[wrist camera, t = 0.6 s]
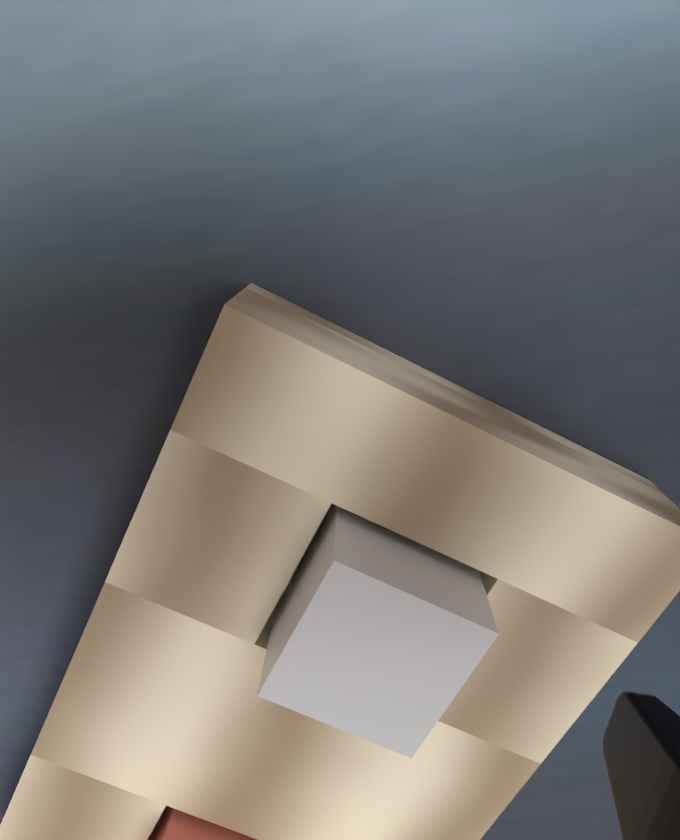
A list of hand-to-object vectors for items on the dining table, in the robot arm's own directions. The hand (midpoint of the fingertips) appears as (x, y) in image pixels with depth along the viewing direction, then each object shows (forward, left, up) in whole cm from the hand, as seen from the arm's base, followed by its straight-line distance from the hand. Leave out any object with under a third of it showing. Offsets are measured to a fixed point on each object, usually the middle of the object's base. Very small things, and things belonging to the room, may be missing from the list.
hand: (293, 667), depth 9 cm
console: (-3, +10, -12) cm, 15 cm away
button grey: (-3, +4, -9) cm, 10 cm away
